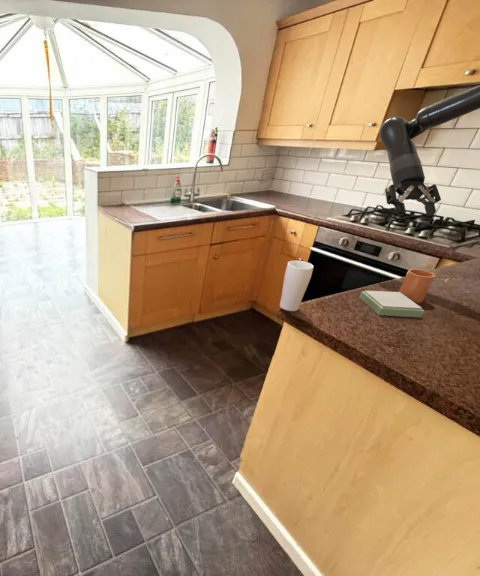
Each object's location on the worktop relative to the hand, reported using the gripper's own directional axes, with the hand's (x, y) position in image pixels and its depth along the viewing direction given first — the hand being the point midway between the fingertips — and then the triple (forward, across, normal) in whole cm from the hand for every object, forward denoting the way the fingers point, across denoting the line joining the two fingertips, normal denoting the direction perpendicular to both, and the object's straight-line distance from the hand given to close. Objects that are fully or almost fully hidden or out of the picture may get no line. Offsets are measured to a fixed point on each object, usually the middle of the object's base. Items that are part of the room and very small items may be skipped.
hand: (416, 214), depth 103 cm
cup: (+25, 0, +9) cm, 27 cm away
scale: (+30, -10, +4) cm, 32 cm away
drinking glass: (+31, -41, +4) cm, 51 cm away
